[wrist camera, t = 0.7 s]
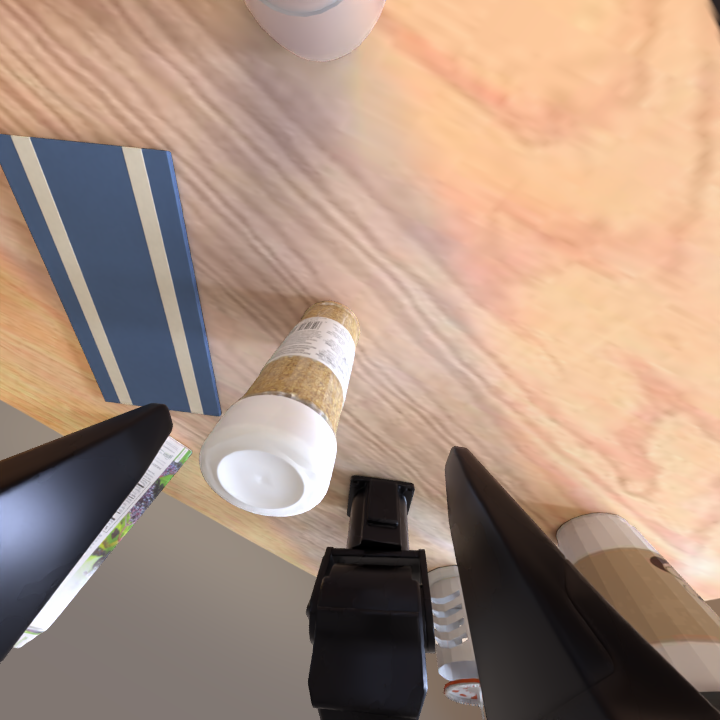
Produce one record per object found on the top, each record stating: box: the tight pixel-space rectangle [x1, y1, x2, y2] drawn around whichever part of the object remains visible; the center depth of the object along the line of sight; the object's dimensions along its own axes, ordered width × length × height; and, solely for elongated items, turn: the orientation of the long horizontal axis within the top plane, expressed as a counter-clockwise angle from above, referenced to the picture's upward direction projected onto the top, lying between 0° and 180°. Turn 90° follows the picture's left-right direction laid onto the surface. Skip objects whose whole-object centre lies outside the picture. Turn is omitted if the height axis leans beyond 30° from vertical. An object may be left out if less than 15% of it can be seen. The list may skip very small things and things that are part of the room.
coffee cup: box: [556, 513, 720, 712], centre depth 23 cm, size 11×11×15 cm
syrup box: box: [13, 436, 192, 648], centre depth 23 cm, size 6×6×14 cm
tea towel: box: [0, 134, 221, 416], centre depth 21 cm, size 20×11×1 cm, turn 175°
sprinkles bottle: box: [199, 301, 360, 517], centre depth 15 cm, size 5×5×13 cm
